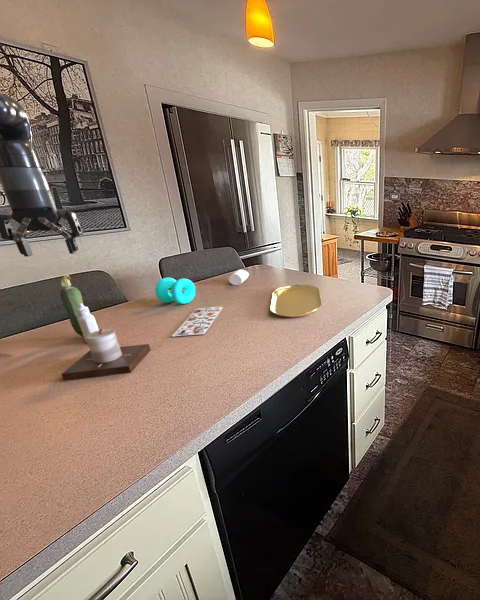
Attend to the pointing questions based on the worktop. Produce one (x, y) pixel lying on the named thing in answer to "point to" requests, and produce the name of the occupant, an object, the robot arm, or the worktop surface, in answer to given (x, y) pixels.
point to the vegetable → (71, 302)
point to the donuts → (175, 290)
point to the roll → (238, 277)
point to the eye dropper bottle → (86, 321)
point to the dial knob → (104, 345)
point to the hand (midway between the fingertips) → (51, 254)
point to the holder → (107, 364)
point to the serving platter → (295, 300)
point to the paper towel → (198, 321)
